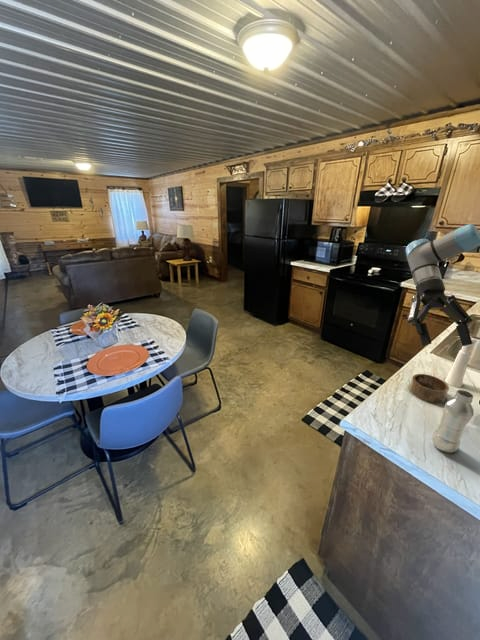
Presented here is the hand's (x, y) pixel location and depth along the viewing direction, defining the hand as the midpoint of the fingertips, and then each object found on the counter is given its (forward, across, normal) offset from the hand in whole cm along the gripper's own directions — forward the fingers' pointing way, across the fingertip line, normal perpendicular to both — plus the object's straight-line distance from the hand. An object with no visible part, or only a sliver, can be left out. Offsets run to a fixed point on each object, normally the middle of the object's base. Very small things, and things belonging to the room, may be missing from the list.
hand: (447, 344), depth 80 cm
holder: (+13, -13, -29) cm, 34 cm away
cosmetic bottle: (+9, -30, -33) cm, 45 cm away
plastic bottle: (+29, 0, -12) cm, 32 cm away
